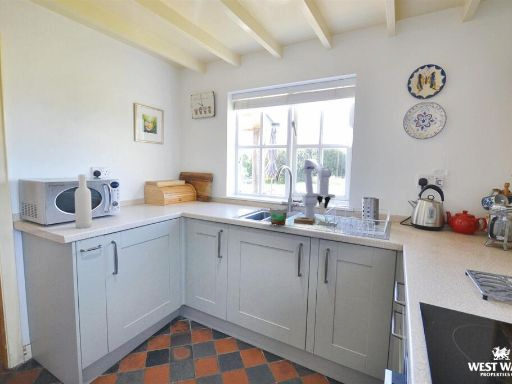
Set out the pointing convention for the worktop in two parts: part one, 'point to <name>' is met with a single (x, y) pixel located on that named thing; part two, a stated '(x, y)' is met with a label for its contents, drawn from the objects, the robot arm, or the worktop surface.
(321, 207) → the steel peg
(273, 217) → the food container
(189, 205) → the worktop surface
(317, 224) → the mat
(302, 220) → the block
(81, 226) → the bottle
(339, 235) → the worktop surface
